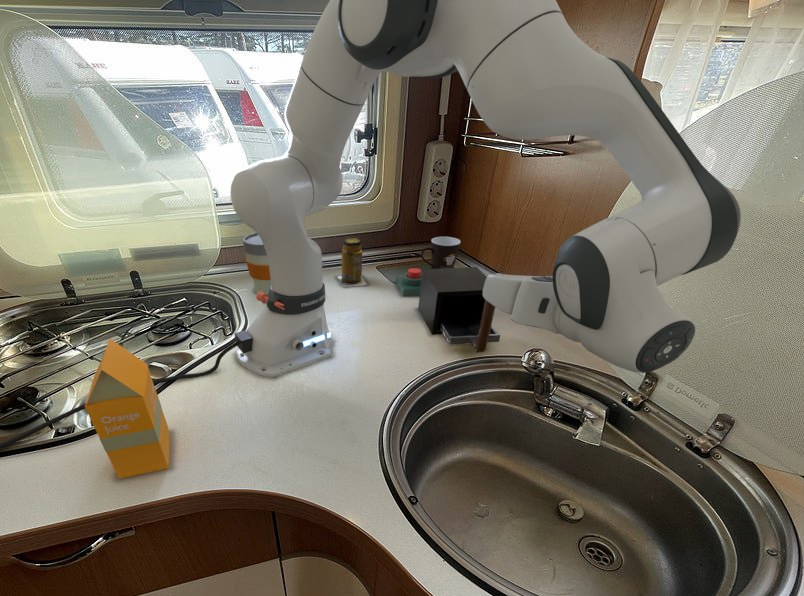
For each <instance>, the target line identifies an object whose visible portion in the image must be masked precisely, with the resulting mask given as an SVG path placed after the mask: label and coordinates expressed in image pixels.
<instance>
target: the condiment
mask: <svg viewBox="0 0 804 596" xmlns="http://www.w3.org/2000/svg"><path fill="white" fill-rule="evenodd" d="M362 273H363V249H362V241H361V240H360V239H359V238H356V237H349V238H345V239H344V240H343V241H342V249H341V275H337V276H336V277H337V279H338V280H339V282H340V283H341V285H342V287H346V288H347V287H358V286H367V285H368V283H367V282H366V281H365V280H364V278H363V277H362Z"/></svg>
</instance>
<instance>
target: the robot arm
mask: <svg viewBox="0 0 804 596" xmlns="http://www.w3.org/2000/svg"><path fill="white" fill-rule="evenodd" d="M382 72H385V73H388V74H392V75H393V76H397V77H404V78H410V77H418V78H419V77H421V78H422V77H423V78H427V79H440V78H445V77H448V76H450V75H452V74H454V73H457V72H458V74H459V75H460V77H461V80H462V82H463V84H464V87H465V89H466V90H467V92H468V96H469V97H470V99H471V101H472V104H473V105H474V108H475V110H476V112H477V113H478V115H479V116H480V119H481V120H482V121H483V123H484V124H485V125H486V126H487V127H488V129H490V131H491V132H493V133H495V134H497V135H499V136H501V137H504V138H508V139H511V140H518V141H519V140H521V141H531V140H533V141H534V140H540V139H546V138H552V137H561V136H562V137H563V136H580V137H586V138H590V139H593V140H596V141H598V142H600V143H601V144H603V145H604V146H605V147H606V148H607V149H608V151H609V152H610V153H611V154H612V156H613V157H614V159H615V160H616V161H617V163H618V165H619V166H620V167H621V168H622V170H623V171H624V173H625V174H626V176H627V177H628V178H629V179H630V181H631V182H632V184H633V185H634V187H635V188H636V189H637V191H638V192H639V195H640V196H641V201H640V202H638V203H635V204H633V205H631V206H630V207H627V208H625V209H623V210H622V211H619V212H618V213H616V214H613V215H612V216H610V217H606V218H604V219H603V220H600V221H598V222H596V223H594V224H592V225H590V226H588V227H586V228H584V229H583V230H581V231H578V232H577V233H575V234H573V235H571V236H569V237H568V238H566V239H565V240H564V242H563V243H562V244H561V246H560V247H559V250H558V252H557V254H556V257H555V261H554V266H553V270H552V275H545V276H538V275H536V276H535V275H521V274H520V275H519V274H518V275H517V274H506V273H502V272H501V273H500V272H496V273H489V274H488V275H487V276H486V277H487V278H486V280H485V284H484V288H483V297H484V299H485V300H487V301H488V302H489V303H491V304H492V305H493V306H495V309H498V310H499V311H501V312H502V313H505V314H507V315H511V321H512V322H514V323H515V324H517V325H522V326H527V327H532V328H538V329H543V330H546V331H549V332H552V333H553V334H557V335H561V336H563V337H564V338H566V339H567V340H570V341H572V342H576V343H580V344H581V346H582V347H583V348H584V349H586V350H587V352H590V353H592V354H593V355H595V356H596V357H598V358H600V359H602V360H603V361H606V362H607V363H609V364H611V365H613V366H616V367H618V368H620V369H622V370H626V371H629V372H633V373H637V374H638V373H639V374H647V373H651V372H654V371H657V370H659V369H661V368H663V367H665V366H668V365H669V364H671V363H673V362H675V360H677V359H678V358H679V357H680V356H682V354H684V352H685V351H686V350H687V349H688V348H689V346H690V345H691V343H692V342H693V339H694V337H695V334H696V324H695V323H694V322H693V320H691V319H690V317H688V316H687V315H686V314H685V313H682V312H681V311H679V310H677V309H675V308H674V307H672V306H671V305H670V304H669V302H668V301H667V300H666V299H665V297H664V296H663V294H662V292H661V291H660V288H659V286H660V285H663V284H665V283H667V282H669V281H671V280H673V279H675V278H677V277H680V276H684V275H688V274H689V273H693V272H694V271H697V270H700V269H703V268H705V267H708V266H710V265H712V264H715V263H717V262H719V261H720V260H722V259H723V258H724V257H725V256H726V255H728V253H729V252H730V250H731V249H732V247H733V246H734V243H735V241H736V239H737V237H738V233H739V231H740V226H741V220H742V219H741V217H742V215H741V207H740V205H739V202H738V200H737V198H736V197H735V195H734V194H733V193H732V192H731V190H729V188H728V187H727V186H725V184H724V183H722V182H721V181H720V180H719V179H717V177H716V176H714V175H713V174H712V173H711V172H710V171H709V170H708V169H707V168H705V166H704V165H703V164H702V163H701V162H700V160H699V159H698V158H697V157H696V155H695V153H694V152H693V151H692V150H691V148H690V147H689V144H687V143H686V141H685V140H684V138H683V137H682V136H681V134H680V133H679V131H678V130H677V129H676V127H675V126H674V124H673V123H672V121H671V120H670V118H669V117H668V116H667V115H666V113H665V112H664V110H663V109H662V108H661V106H660V105H659V103H658V102H657V100H655V98H654V97H653V95H652V94H651V93H650V91H649V89H647V87H646V85H645V84H644V83H643V82H642V80H640V78H639V77H638V76H637V75H636V74H635V73H634V72H633V70H632V69H631V68H630V67H629V66H628V65H627V64H625V63H624V62H622V60H620V59H617V58H612V57H606V56H604V55H602V54H600V53H598V52H596V51H595V50H593V49H592V48H591V47H590V46H588V45H587V44H586V43H585V41H583V40H582V39H580V38H579V36H578V35H577V34H576V33H575V32H574V31H573V29H572V28H571V27H570V25H569V23H568V22H567V20H566V18H565V16H564V14H563V12H562V9H561V8H560V6H559V4H558V2H557V0H329V2H328V3H327V5H326V6H325V8H324V10H323V12H322V13H321V16H320V17H319V20H318V22H317V24H316V26H315V27H314V29H313V32H312V34H311V37H310V38H309V41H308V44H307V46H306V48H305V51H304V54H303V56H302V59H301V62H300V65H299V68H298V71H297V74H296V77H295V79H294V83H293V86H292V88H291V91H290V94H289V97H288V100H287V103H286V105H285V109H284V119H285V123H286V126H287V128H288V130H289V132H290V133H291V138H290V144H289V148H288V149H287V151H286V152H285V153H284V154H283V155H281V156H279V157H273V158H269V159H264V160H258V161H256V162H254V163H252V164H250V165H248V166H247V167H245V168H243V169H242V170H240V171H239V172H237V173H236V174H235V175H234V176H233V178H232V180H231V185H230V200H231V204H232V208H233V210H234V212H235V214H236V216H237V217H238V218H239V219H240V220H241V222H243V224H245V226H248V227H250V228H251V230H253V231H254V233H257V234H258V235H259V237H260V239H261V241H262V243H263V245H264V247H265V250H266V253H267V257H268V263H269V270H270V278H271V286H270V290H269V294H268V295H267V294H264V293H263V292H258V293H257V292H256V295H255V299H256V301H258V302H261V303H262V304H266V306H265V307H264V308H263V309H262V311H261V312H260V313H259V314H258V315H257V317H256V318H255V319H254V320H253V322H252V323H250V325H249V326H248V327H247V329H246V330H245V329H244V330H241V331H237V332H235V333H234V339H235V342H233V343H232V344H229V346H227V347H225V348H224V349H223V350H221V352H219V354H218V356H217V357H216V360H215V363H214V365H213V366H212V367H211V368H209V369H207V370H206V371H203V372H198V373H197V372H196V373H185V374H178V375H173V376H168V377H164V378H158V379H154V380H153V379H152V381H153V384H154V385H158V384H163V383H164V384H165V383H168V382H174V381H178V380H182V379H184V380H185V379H193V378H199V377H205V376H208V375H211V374H212V373H214V372H215V371H217V369H218V368H219V366H220V363H221V360H222V358H223V357H224V356H225V355H226V354H227V353H228V352H230V351H232V350H233V349H235V348H236V347H237V348H238V349H236V359H237V361H238V362H239V364H241V366H243V367H244V368H245V369H247V370H249V371H251V372H252V373H254V374H257V375H258V376H262V377H266V378H276V377H279V376H282V375H285V374H287V373H291V372H293V371H296V370H299V369H302V368H304V367H307V366H309V365H310V366H311V365H312V364H315V363H318V362H320V361H323V360H325V359H329V358H331V356H332V350H331V346H332V344H333V339H332V332H330V330H329V327H328V322H327V316H326V310H325V302H326V286H325V285H326V284H325V283H324V282H323V281H324V280H323V279H324V278H323V275H324V274H323V252H322V248H321V247H320V246H319V244H318V243H317V242H316V241H315V240H313V239H311V238H310V237H309V235H308V232H307V229H306V225H305V218H306V217H307V216H312V215H313V214H316V213H319V212H321V211H324V210H325V209H326V208H328V206H330V205H331V204H332V203H333V202H334V201H336V200H337V199H338V198H339V196H340V194H341V192H342V189H343V181H344V180H343V173H342V169H341V162H342V157H343V154H344V150H345V147H346V145H347V141H348V139H349V138H350V135H351V133H352V131H353V129H354V127H355V124H356V122H357V121H358V118H359V117H360V114H361V112H362V111H363V107H364V105H365V103H366V101H367V99H368V97H369V95H370V93H371V91H372V88H373V86H374V84H375V82H376V81H377V79H378V77H379V75H380V74H381V73H382ZM85 405H86V402H84V404H81V405H79V406H77V407H75V408H72V409H70V410H68V411H66V412H64V413H62V414H59V415H57V416H55V417H54V418H52V419H49V420H47V421H45V422H43V423H41V424H39V425H36V426H35V427H33V428H31V429H29V430H26V431H25V432H22V433H20V434H19V435H16V436H14V437H12V438H10V439H7V440H5V441H3V442H0V450H2V449H4V448H5V447H8V446H10V445H12V444H14V443H17V442H19V441H21V440H23V439H25V438H27V437H29V436H32V435H34V434H35V433H38V432H39V431H41V430H43V429H45V428H48V427H49V426H52V425H55V424H57V423H58V422H60V421H62V420H64V419H67V418H68V417H71V416H73V415H74V414H76V413H79V412H81V411H83V410H86V408H85Z"/></svg>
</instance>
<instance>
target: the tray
mask: <svg viewBox="0 0 804 596" xmlns="http://www.w3.org/2000/svg"><path fill="white" fill-rule="evenodd" d="M495 311H496V307H495V306H493V305H492V304H491V303H489V302H488V301H487V300H485V304H484V308H483V313H479V316H478V317H472V318H452V319H441V318H440V316H439V322H438V327H439V329H440V330H441V332H442V334H441V335H443V337H444V339H445V341H446V342H447V344H448V345H451V346H452V345H468V344H469V345H471V346H472V348H473V349H474V351H475V352H476V353H478V354H479V353H485V351H486V350H487V347H488V343H500V339H501V333H499V332H498V331H497V330H496V329H495V327H494V326H493V325H492V324H493V321H494V316H495Z"/></svg>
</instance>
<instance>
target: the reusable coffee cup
mask: <svg viewBox="0 0 804 596" xmlns="http://www.w3.org/2000/svg"><path fill="white" fill-rule="evenodd" d="M242 247H243V252H244V253H245V257H246V258H245V261H246V263H245V264H246V266H247V269H248V273H249V276H250V277H251V280H252V283H253V287H254V290H255V293H256V294H257V293H258V292H263V293H264V294H267V295H268V294H269V290H270V286H271V278H270V270H269V263H268V257H267V253H266V250H265V247H264V245H263V243H262V241H261V239H260V237H259V235H258V234H257V233H256V232H253V233H249V234H247V235H245V236H244V237H243V238H242Z"/></svg>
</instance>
